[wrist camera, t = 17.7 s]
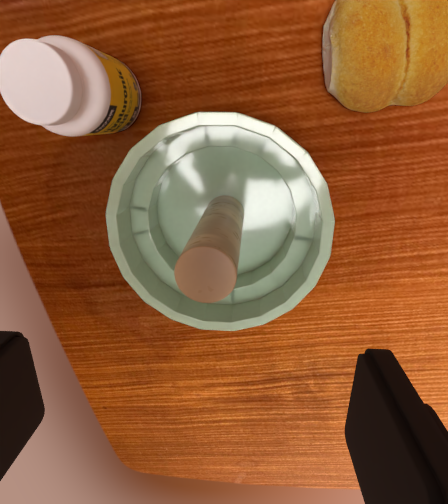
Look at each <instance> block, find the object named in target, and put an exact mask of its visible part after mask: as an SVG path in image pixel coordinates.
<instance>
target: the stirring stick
mask: <svg viewBox="0 0 448 504" xmlns="http://www.w3.org/2000/svg"><path fill="white" fill-rule="evenodd" d="M243 221H244V210H243V207H242V205H241V203H240V202H239V201H238V200H237V199H235V198H234V197H231V196H228V195H222V196H218V197H216V198H214V199H213V200H211V201H210V203H209V204H208V206H207V208H206V210H205V211H204V213H203V215H202V217H201V219H200V220H199V222H198V224H197V226H196V228H195V229H194V231H193V233H192V235H191V237H190V238H189V240H188V242H187V244H186V246H185V247H184V249H183V251H182V253H181V255H180V256H179V258H178V260H177V262H176V265H175V269H174V276H175V281H176V283H177V285H178V287H179V289H180V290H181V291H182V292H183V293H184V294H185V295H186V296H187V297H189V298H190V299H192V300H194V301H197V302H201V303H213V302H217V301H220V300H222V299H224V298H225V297H227V296H228V295H229V294H230V293H231V292H232V290H233V289H234V287H235V284H236V280H237V272H238V263H239V255H240V246H241V238H242V229H243Z"/></svg>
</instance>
